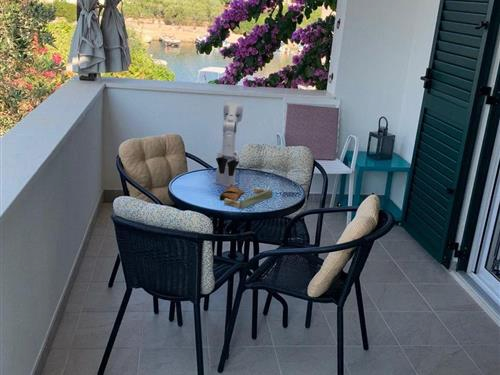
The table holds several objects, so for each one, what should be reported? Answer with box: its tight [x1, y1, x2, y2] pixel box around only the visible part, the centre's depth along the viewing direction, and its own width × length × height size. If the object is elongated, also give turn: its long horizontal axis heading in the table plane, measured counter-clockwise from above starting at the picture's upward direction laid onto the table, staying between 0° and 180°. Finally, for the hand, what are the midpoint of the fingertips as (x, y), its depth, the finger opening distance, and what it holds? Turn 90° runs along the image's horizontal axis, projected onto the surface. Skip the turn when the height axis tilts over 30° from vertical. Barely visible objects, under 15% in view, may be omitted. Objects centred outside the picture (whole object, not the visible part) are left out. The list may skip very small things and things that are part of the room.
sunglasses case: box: [219, 184, 246, 202], centre depth 271 cm, size 18×7×7 cm
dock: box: [223, 187, 274, 210], centre depth 266 cm, size 10×25×4 cm, turn 146°
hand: (226, 174), depth 271 cm, fingers open, 7 cm apart
